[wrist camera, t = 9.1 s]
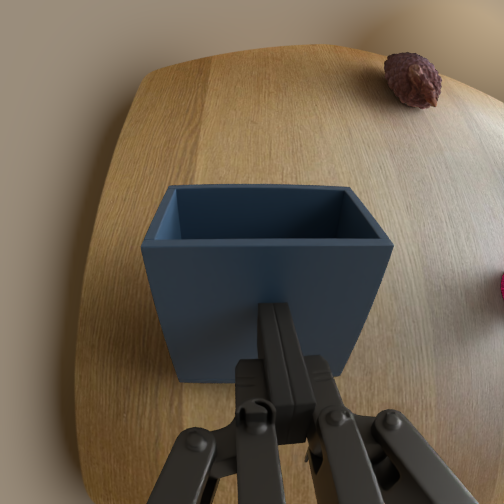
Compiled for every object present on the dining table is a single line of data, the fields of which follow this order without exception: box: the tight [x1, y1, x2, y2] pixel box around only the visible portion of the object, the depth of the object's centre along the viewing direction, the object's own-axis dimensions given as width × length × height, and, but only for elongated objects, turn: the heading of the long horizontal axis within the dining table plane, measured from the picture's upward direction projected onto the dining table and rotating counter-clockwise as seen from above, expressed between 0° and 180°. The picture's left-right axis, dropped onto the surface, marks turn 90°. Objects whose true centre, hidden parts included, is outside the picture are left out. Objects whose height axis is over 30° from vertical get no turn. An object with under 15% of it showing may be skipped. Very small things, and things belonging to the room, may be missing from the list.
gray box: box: [141, 184, 394, 383], centre depth 19 cm, size 7×12×12 cm, turn 92°
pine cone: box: [384, 52, 442, 109], centre depth 37 cm, size 18×10×10 cm
